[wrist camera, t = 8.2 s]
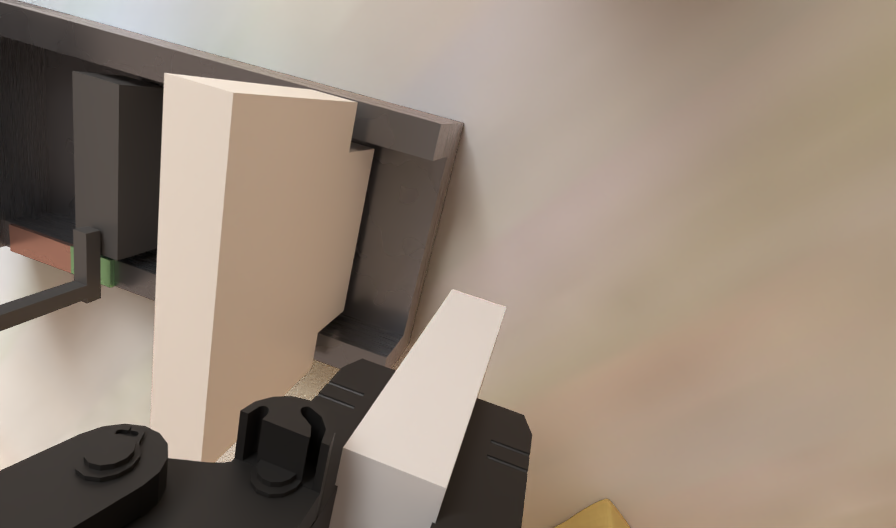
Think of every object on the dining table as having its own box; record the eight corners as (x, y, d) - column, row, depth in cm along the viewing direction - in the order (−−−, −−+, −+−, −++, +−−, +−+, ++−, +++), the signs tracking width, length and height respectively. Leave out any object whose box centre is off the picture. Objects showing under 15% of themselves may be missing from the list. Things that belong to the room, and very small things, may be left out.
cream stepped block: (382, 104, 17) (233, 92, 9) (337, 343, 20) (199, 477, 13) (259, 70, 18) (27, 33, 10) (234, 306, 21) (47, 411, 14)
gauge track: (463, 123, 18) (392, 125, 11) (408, 344, 22) (325, 461, 14) (4, -4, 22) (-290, -67, 14) (17, 206, 25) (-215, 243, 18)
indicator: (167, 88, 19) (-38, 72, 13) (159, 285, 22) (-11, 354, 15) (125, 76, 19) (-97, 54, 13) (122, 271, 22) (-60, 334, 16)
